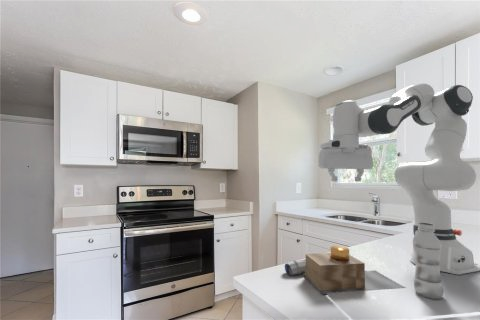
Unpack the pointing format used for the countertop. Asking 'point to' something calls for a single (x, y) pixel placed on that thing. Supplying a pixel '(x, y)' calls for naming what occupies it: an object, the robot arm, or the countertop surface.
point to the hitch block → (343, 275)
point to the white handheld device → (295, 267)
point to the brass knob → (340, 253)
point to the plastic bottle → (427, 262)
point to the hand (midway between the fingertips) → (346, 181)
